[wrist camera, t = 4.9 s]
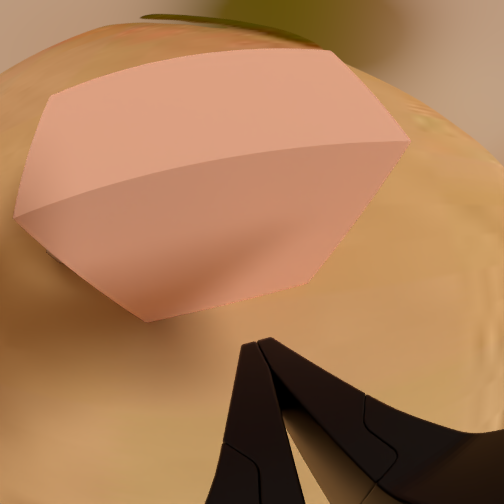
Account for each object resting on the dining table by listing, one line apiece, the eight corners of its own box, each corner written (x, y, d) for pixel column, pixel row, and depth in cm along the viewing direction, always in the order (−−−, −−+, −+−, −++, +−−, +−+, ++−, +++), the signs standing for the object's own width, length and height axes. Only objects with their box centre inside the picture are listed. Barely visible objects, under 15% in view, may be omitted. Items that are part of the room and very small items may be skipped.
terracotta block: (146, 322, 16) (12, 218, 5) (135, 247, 17) (50, 96, 6) (307, 283, 17) (411, 140, 6) (282, 214, 19) (330, 50, 8)
